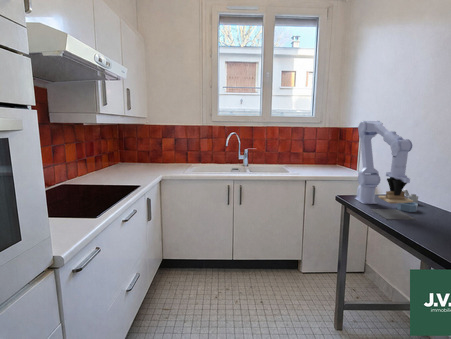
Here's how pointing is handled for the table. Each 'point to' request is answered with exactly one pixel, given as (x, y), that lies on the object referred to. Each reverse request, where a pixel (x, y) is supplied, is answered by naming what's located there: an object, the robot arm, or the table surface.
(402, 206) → the bowl
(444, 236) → the table surface
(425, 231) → the table surface
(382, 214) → the mat
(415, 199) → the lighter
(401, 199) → the lid
